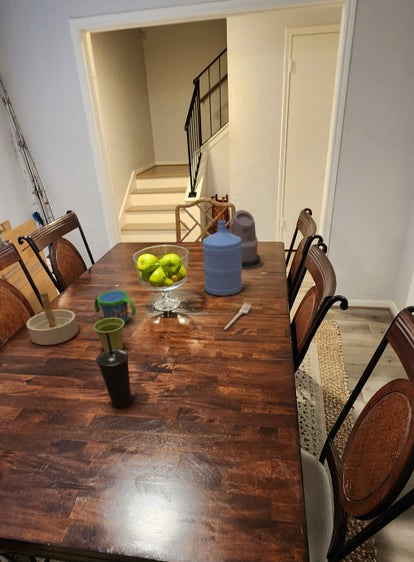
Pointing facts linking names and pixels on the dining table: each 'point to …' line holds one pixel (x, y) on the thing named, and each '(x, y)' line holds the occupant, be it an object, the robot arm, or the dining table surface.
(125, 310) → the snack cup
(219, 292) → the water jug
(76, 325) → the bowl
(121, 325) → the plant pot
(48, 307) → the wooden pestle
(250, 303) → the fork
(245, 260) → the machine
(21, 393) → the dining table surface
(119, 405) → the drinking cup
